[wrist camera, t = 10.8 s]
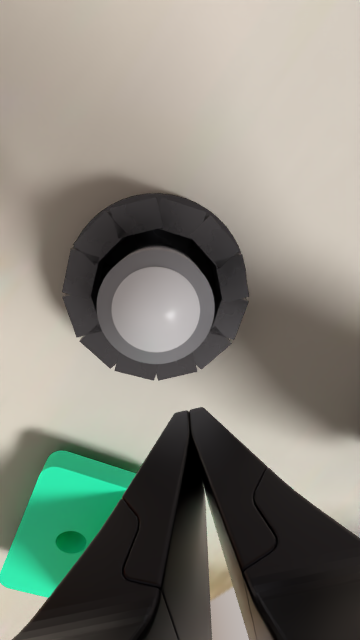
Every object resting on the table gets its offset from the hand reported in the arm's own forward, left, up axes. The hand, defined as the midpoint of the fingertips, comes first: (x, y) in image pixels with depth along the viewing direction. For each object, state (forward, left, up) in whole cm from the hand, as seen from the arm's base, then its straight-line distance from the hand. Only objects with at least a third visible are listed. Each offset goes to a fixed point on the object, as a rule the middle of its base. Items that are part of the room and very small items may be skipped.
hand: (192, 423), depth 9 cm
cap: (+1, -2, -11) cm, 11 cm away
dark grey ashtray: (+1, -2, -12) cm, 12 cm away
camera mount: (+11, +14, -12) cm, 22 cm away
